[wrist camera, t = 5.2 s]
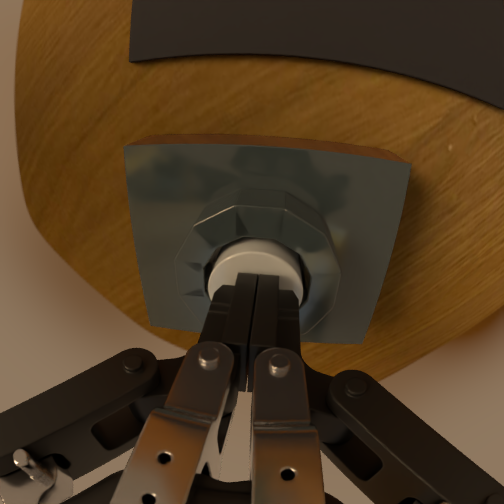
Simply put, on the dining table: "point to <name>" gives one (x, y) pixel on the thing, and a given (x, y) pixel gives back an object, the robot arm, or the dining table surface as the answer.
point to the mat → (338, 35)
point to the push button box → (265, 221)
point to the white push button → (257, 264)
